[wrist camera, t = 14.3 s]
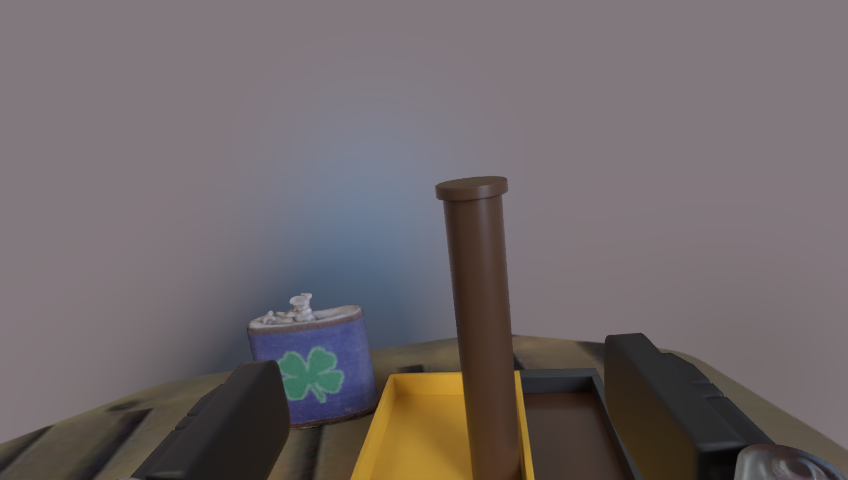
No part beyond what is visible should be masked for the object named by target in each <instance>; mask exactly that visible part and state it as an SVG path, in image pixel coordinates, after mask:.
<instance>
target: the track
mask: <svg viewBox="0 0 848 480" xmlns="http://www.w3.org/2000/svg"><path fill="white" fill-rule="evenodd" d="M514 371H519V373H520V380H521V387H522V394H523V401H524V408H525V415H526V422H527V429H528V437H529V444H530V451H531V458H532V465H533V472H534V479H535V480H644V479H643V477H642V475H641V473H640V472H639V470H638V468H637V466H636V464H635V463H634V461H633V459H632V457H631V456H630V454H629V452H628V450H627V448H626V447H625V445H624V443H623V441H622V439H621V438H620V436H619V434H618V432H617V430H616V429H615V427H614V425H613V423H612V421H611V419H610V417H609V414H608V411H607V407H606V402H605V387H604V385H603V383H602V381H601V378H600V376H599V374H598V372H597V370H596V368H584V369H543V370H514ZM420 373H440V372H420ZM390 374H398V373H390ZM390 374H389V375H390ZM388 378H389V376H388ZM387 380H388V379H387Z"/></svg>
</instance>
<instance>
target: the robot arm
mask: <svg viewBox="0 0 848 480" xmlns="http://www.w3.org/2000/svg"><path fill="white" fill-rule="evenodd" d="M604 352H605V402H606V407H607V411H608V414H609V417H610V419H611V421H612V423H613V425H614V427H615V429H616V430H617V432H618V434H619V436H620V438H621V439H622V441H623V443H624V445H625V447H626V448H627V450H628V452H629V454H630V456H631V457H632V459H633V461H634V463H635V464H636V466H637V468H638V470H639V472H640V473H641V475H642V477H643V479H644V480H848V476H847V475H846V474H844V473H843V472H841V471H840V470H839V469H837V468H836V467H834V466H833V465H831V464H830V463H828V462H826V461H824V460H822V459H820V458H818V457H816V456H814V455H812V454H809V453H807V452H804V451H801V450H798V449H795V448H791V447H788V446H783V445H777V444H775V443H774V442H773V441H772V440H771V439H770V438H769V437H768V436H767V435H766V434H765V433H764V432H763V431H761V430H760V429H759V428H758V427H757V426H756V425H755V424H754V423H753V422H752V421H751V420H750V419H749V418H748V417H747V416H746V415H745V414H744V413H743V412H742V411H741V410H740V409H739V408H738V407H737V406H736V405H735V404H734V403H733V402H731V401H730V400H729V399H728V398H727V397H724V396H723V393H722V392H721V391H720V390H719V389H718V388H717V387H716V386H715V385H714V384H713V383H712V384H710V380H709V379H708V378H707V377H706V376H705V375H704V374H702V373H701V372H700V371H699V370H698V369H697V368H696V367H695V366H694V365H693V364H691V363H689V362H687V361H685V360H683V359H681V358H680V357H678V356H676V355H674V354H672V353H661V352H660V351H659V350H658V349H657V348H656V347H655V346H654V345H653V344H652V343H651V341H650V340H649V339H648V338H647V337H646V336H645V335H644V334H642V333H634V334H633V333H632V334H620V335H608V336H607V337H606V339H605V347H604ZM290 423H291V418H290V411H289V406H288V402H287V398H286V393H285V389H284V385H283V380H282V376H281V372H280V368H279V365H278V363H277V362H276V361H275V360H265V361H252V362H243V363H242V364H241V365H240V366H239V367H238V368H237V369H236V370H235V371H234V373H233V374H232V375H231V376H230V377H229V378H228V379H227V381H226V382H225V383H224V384H221V385H219V386H218V387H216V388H215V389H213V390H212V391H211V392H209V393H208V394H206V395H205V396H203V397H202V398H201V399H200V400H199V401H198V402H197V403H196V404H195V406H194V407H193V408H192V409H191V410H190V411H189V412H188V413H187V417H184V418H183V419H182V420H181V421H180V422H179V423H178V424H177V426H176V427H175V430H172V431H171V432H170V433H169V434H168V436H167V437H166V438H165V439H164V440H163V441H162V442H161V443H160V444H159V446H158V447H157V448H156V449H155V450H154V451H153V452H152V453H151V454H150V456H149V457H148V458H147V459H146V460H145V461H144V462H143V463H142V464H141V466H140V467H139V468H138V469H137V470H136V471H135V472H134V473H133V474H132V476H131V477H130V478H123V479H118V480H267V479H268V477H269V475H270V473H271V471H272V469H273V467H274V465H275V463H276V461H277V459H278V457H279V455H280V453H281V451H282V449H283V447H284V445H285V443H286V441H287V439H288V436H289V431H290Z"/></svg>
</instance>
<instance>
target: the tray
mask: <svg viewBox="0 0 848 480" xmlns="http://www.w3.org/2000/svg"><path fill="white" fill-rule="evenodd" d="M507 185H508V184H507V179H506V178H505V177H497V176H485V177H471V178H463V179H457V180H451V181H446V182H443V183H440V184H438V185H436V187H435V190H436V197H437V199H439V200H443V205H444V214H445V223H446V233H447V243H448V252H449V261H450V271H451V279H452V289H453V299H454V307H455V317H456V326H457V336H458V345H459V354H460V364H461V372H440V373H398V374H390V375H389V378H388V380H387V383H386V386H385V388H384V391H383V394H382V396H381V399H380V402H379V404H378V407H377V410H376V412H375V415H374V417H373V420H372V423H371V425H370V428H369V431H368V433H367V436H366V439H365V441H364V444H363V447H362V449H361V452H360V455H359V457H358V460H357V463H356V465H355V468H354V471H353V473H352V476H351V479H350V480H535V479H534V472H533V465H532V458H531V451H530V444H529V437H528V429H527V422H526V415H525V408H524V401H523V394H522V387H521V380H520V373H519V371H514V361H513V347H512V333H511V320H510V305H509V291H508V277H507V262H506V248H505V234H504V220H503V206H502V194H504V193H506V192H507V191H508V186H507Z"/></svg>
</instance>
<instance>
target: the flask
mask: <svg viewBox="0 0 848 480" xmlns="http://www.w3.org/2000/svg"><path fill="white" fill-rule="evenodd" d="M301 295H302V296H295V297H294V298H291V300H290V304H294V307H293V308H292V309H290V310H289V311H288V313H283V312H277V314H273V311H269V312H268V313H267V314H266V315H265V316H262V317H259V318H256V319H254V320H253V321H250V322H249V324H248V327H247V333H248V338H249V341H250V346H251V351H252V354H253V358H254V361H265V360H275V361H276V362H277V363H278V365H279V368H280V372H281V376H282V380H283V385H284V389H285V393H286V398H287V402H288V406H289V411H290V418H291V423H290V429H299V428H300V429H301V428H303V429H305V428H311V427H317V426H320V425H323V424H332V423H338V422H342V421H348V420H351V419H358V418H361V417H363V416H365V415H367V414H368V415H369V414H371V413H374V411H375V410H376V409H377V407H378V404H377V402H378V400H379V398H378V394H377V389H376V384H375V378H374V372H373V364H372V361H371V355H370V351H369V342H368V339H367V333H366V326H365V317H364V311H363V309H361V307H360V306H357V305H347V306H342V307H337V308H332V309H325V310H320V311H313V312H311V311H312V310H311V308H310V304H309V300H310V299H311V297H312V295H311V294H310V293H308V294H306V293H302V294H301Z"/></svg>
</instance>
